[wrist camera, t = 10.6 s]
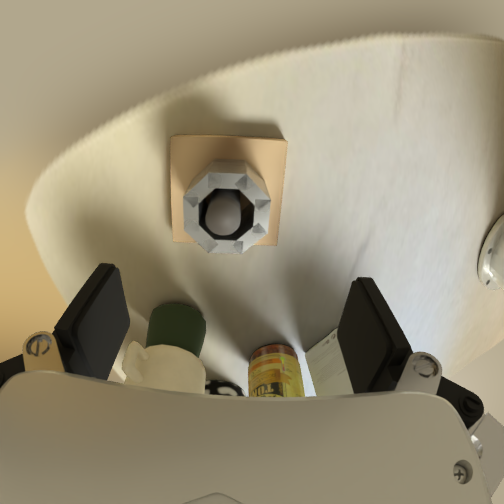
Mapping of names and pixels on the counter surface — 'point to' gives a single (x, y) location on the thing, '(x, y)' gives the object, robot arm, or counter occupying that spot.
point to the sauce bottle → (275, 372)
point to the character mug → (169, 352)
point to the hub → (252, 215)
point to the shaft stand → (226, 200)
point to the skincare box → (328, 367)
